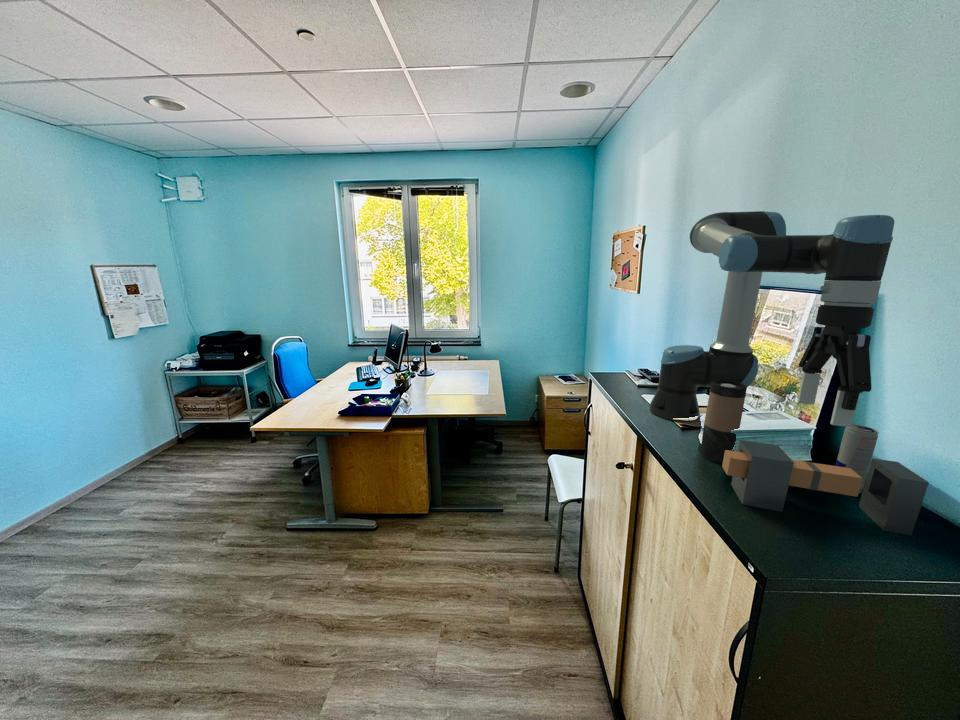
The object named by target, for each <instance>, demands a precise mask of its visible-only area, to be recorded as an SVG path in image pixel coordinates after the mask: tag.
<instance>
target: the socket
mask: <svg viewBox="0 0 960 720" xmlns="http://www.w3.org/2000/svg"><path fill="white" fill-rule="evenodd" d="M929 484H930V482H929V481H928V480H926V479H924V478H923V477H922V476H920V475H919V474H917V473H915V472H914V471H912V470H911V469H909V468H908V467H907V466H905V465H903V464H902V463H900V462H899V461H893V460H888V459H887V460H886V459H878V458H873V457H872V459H871V463H870V466H869V470H868V473H867V477H866V480H865V484H864V487H863V490H862V492H861V496H860V500H859V503H858V508H859V509H861V510H862V511H863V512H864V513H865V515H867V516H868V517H869V518H870V519H871V520H872V521H873V522H874V523H876V525H877V526H878V527H880V529H881V530H882V531H885V532H889V533H895V534H901V535H906V536H911V537H912V535H913V532H914V529H915V525H916V524H917V520H918V517H919V515H920V511H921V509H922V506H923V502H924V498H925V496H926V493H927V489H928V488H929Z"/></svg>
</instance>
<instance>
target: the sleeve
mask: <svg viewBox="0 0 960 720" xmlns="http://www.w3.org/2000/svg"><path fill="white" fill-rule="evenodd" d="M737 452H744V454H745V455H746V456H747V458H748V464H747V469H746V474H745V478H741V477H735V476H732V477H731V483H730V486H732V489H733V491H734V492H735V494H736V495H737V498H738V500H739V501H740V503H741V504H742V505H743V506H749V507H750V506H751V507H756V508H759V509H766V510H771V511H775V512H781V513H782V512H783V511H784V507H785V502H786V498H787V493H788V489H789V482H790V477H791V473H792V469H793V464H794V462H793V461H792V460H793V459H791V458H790V457H789V456H788V454H787V453H786V452H785V451H784V450H783V449H782V448H781V447H780V446H779V445H778V444H772V443H766V442H765V443H764V442H757V441H751V440H743V439H740V440H739V442H738V447H737Z"/></svg>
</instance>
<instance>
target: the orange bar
mask: <svg viewBox="0 0 960 720" xmlns="http://www.w3.org/2000/svg"><path fill="white" fill-rule="evenodd" d="M791 460H792V461H793V462H794V464H793V469H792V473H791V477H790V482H789V486H790V487H797V488H802V489H808V490H812V491H821V492H825V493H833V494H837V495H838V494H839V495H844V496H850V497H859V494H860V493H859V490H860V486H861V483H862V479H863V478H862V477H861V476H859V475H858V474H857V473H856V472H854V471H853V470H852V469H851V468H845V467H838V466H835V465H831V464H824V463H819V462H818V463H816V462H812V461H806V460H802V461H801V460H796V459H791ZM747 464H748V458H747V456H746V455H745V454H744V452H738V450H737V451H736V450H734V451H730V450H725V453H724V459H723V463H721V467H722V469H723V471H724V472H725V474H726V475H727V476H730V477H733V476H735V477H741V478H745V474H746V469H747ZM789 486H788V487H789Z"/></svg>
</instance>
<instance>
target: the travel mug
mask: <svg viewBox="0 0 960 720" xmlns="http://www.w3.org/2000/svg"><path fill="white" fill-rule="evenodd" d="M709 388H710V390H709V395H708V400H707V405H706V411H705V417H704V422H703V431H702V438H701V444H700V456H701V457H702V458H703V459H705V460H707V461H709V462H712V463H716V464H717V463H718V464H723V459H724V453H725V450H730V451H732V449H733V447H734V445H735V441H736V434H734V433H731V430H734V429H738V428H740V427H741V424H742V423H741V422H742V416H743V411H744V406H745V399H746V394H747V388H748V387H747V386H746V385H744V384H741V383H738V382H734V381H728V380H716V381H715V382H714V383H713V382H711V387H709Z"/></svg>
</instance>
